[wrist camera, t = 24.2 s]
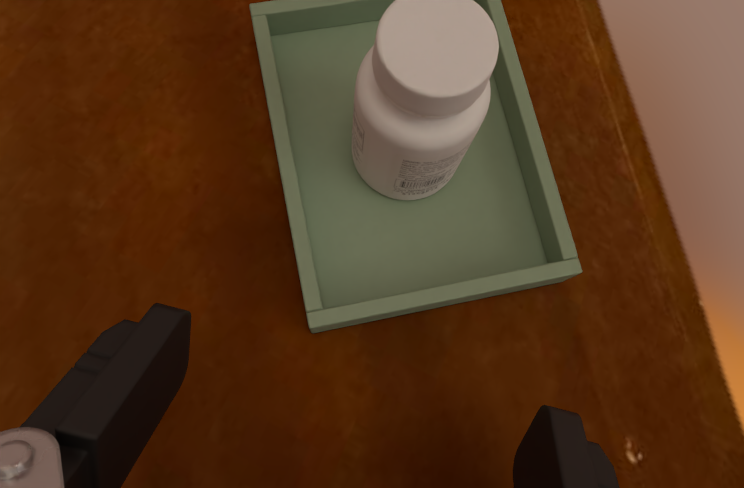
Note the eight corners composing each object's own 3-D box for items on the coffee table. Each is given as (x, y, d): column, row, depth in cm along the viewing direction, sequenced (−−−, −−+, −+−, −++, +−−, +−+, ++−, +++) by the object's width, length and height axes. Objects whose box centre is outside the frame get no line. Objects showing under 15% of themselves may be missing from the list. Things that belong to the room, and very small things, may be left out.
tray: (562, 281, 22) (583, 272, 20) (311, 333, 21) (308, 329, 19) (480, 0, 25) (492, -32, 23) (255, 33, 24) (248, 3, 22)
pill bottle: (478, 143, 23) (546, 28, 16) (417, 224, 22) (458, 143, 15) (393, 83, 23) (419, -57, 16) (329, 159, 22) (325, 49, 15)
